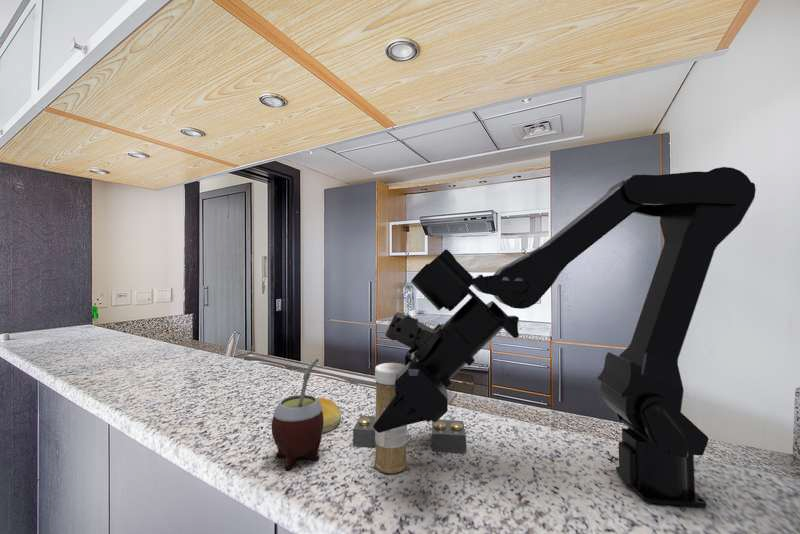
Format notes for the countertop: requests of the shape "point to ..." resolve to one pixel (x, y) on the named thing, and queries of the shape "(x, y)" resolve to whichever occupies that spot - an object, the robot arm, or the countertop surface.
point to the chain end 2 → (448, 436)
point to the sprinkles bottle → (394, 440)
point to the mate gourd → (298, 426)
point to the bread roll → (329, 414)
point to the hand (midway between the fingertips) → (381, 414)
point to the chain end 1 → (364, 432)
